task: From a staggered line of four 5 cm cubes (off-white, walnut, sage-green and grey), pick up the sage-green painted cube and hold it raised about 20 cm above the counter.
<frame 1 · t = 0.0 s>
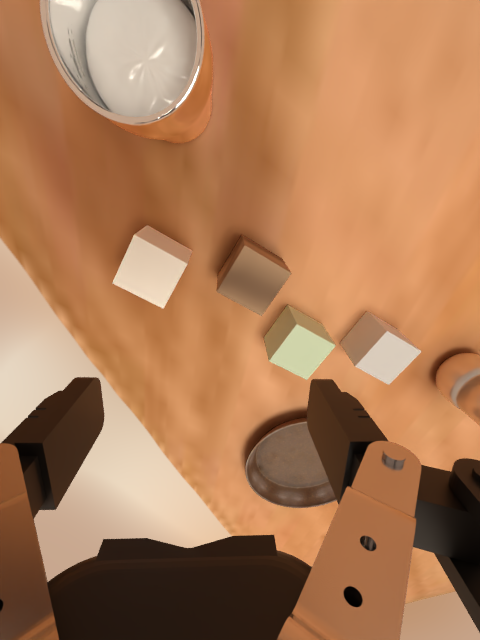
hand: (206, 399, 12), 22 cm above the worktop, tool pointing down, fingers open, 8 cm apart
grey block: (368, 336, 37), on the worktop
plastic bottle: (452, 367, 40), on the worktop
green block: (292, 330, 36), on the worktop
plant saucer: (303, 450, 46), on the worktop
beer glass: (176, 102, 26), on the worktop
white block: (160, 258, 32), on the worktop
walnut block: (249, 266, 33), on the worktop
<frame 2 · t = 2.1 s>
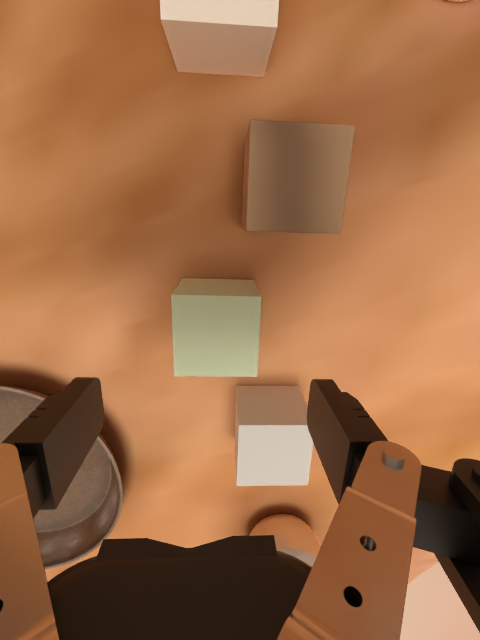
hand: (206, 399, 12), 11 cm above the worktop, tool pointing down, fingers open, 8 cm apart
grey block: (265, 411, 25), on the worktop
plastic bottle: (278, 526, 30), on the worktop
green block: (218, 312, 22), on the worktop
plant saucer: (29, 458, 26), on the worktop
white block: (221, 21, 17), on the worktop
walnut block: (281, 189, 20), on the worktop
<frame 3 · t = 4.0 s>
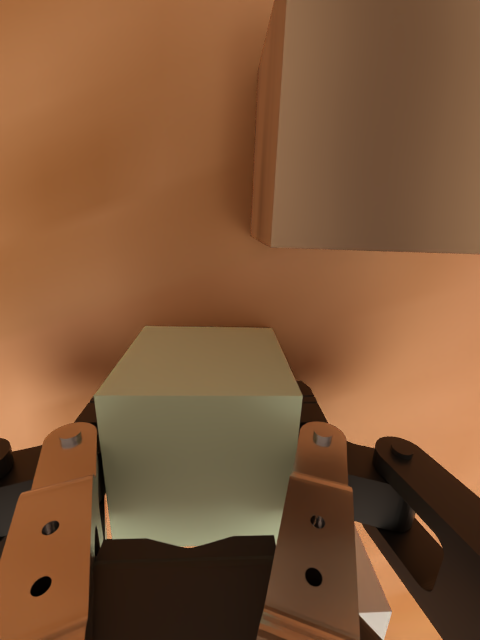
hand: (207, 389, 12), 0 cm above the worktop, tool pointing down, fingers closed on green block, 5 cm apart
grey block: (285, 527, 16), on the worktop
green block: (209, 382, 13), on the worktop, touching gripper
walnut block: (325, 163, 11), on the worktop
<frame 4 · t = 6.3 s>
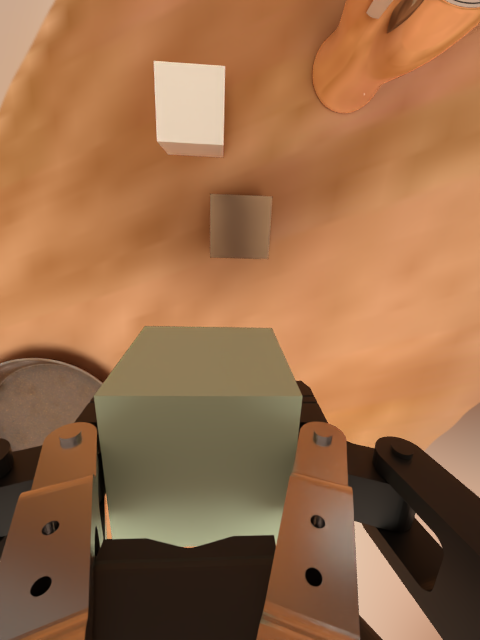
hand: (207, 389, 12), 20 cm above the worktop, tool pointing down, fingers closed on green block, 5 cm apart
green block: (208, 383, 13), point 20 cm above the worktop, touching gripper
plant saucer: (61, 416, 36), on the worktop
beer glass: (345, 74, 27), on the worktop
white block: (195, 124, 27), on the worktop
walnut block: (237, 226, 30), on the worktop
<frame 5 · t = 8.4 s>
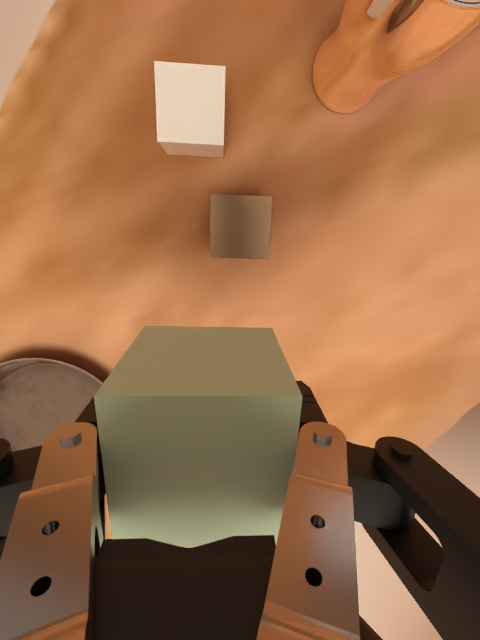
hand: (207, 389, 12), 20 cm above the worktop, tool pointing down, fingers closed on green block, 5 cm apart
green block: (208, 383, 13), point 20 cm above the worktop, touching gripper
plant saucer: (61, 416, 36), on the worktop
beer glass: (345, 74, 27), on the worktop
white block: (195, 124, 27), on the worktop
walnut block: (237, 226, 30), on the worktop
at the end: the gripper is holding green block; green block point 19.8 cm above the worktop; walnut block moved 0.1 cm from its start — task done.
